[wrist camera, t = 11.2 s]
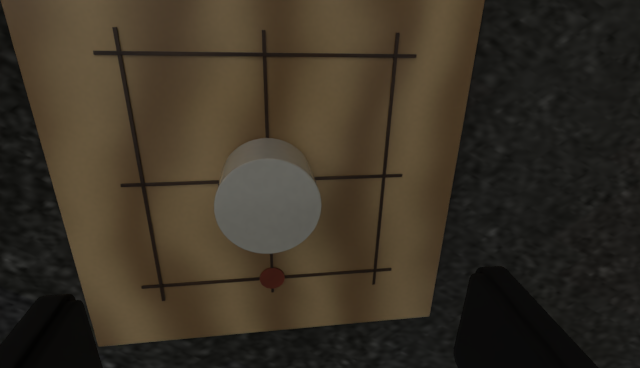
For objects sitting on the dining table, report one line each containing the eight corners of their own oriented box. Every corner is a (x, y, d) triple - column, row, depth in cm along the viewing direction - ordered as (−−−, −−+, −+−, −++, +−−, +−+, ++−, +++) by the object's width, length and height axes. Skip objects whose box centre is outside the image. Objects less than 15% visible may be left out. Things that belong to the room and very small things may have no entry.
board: (478, -37, 18) (493, -41, 16) (422, 304, 26) (430, 318, 24) (1, -59, 15) (-21, -66, 14) (105, 331, 23) (97, 348, 22)
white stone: (313, 136, 18) (323, 157, 16) (312, 219, 20) (320, 251, 17) (216, 138, 18) (208, 160, 15) (224, 224, 20) (218, 257, 17)
